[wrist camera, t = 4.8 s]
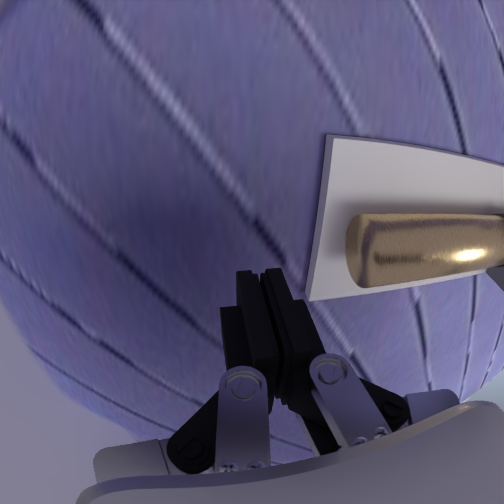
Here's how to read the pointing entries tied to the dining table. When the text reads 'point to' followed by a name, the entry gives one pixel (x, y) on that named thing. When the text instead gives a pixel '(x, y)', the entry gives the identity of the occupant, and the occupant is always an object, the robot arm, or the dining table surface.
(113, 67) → the dining table surface
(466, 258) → the tube
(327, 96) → the dining table surface
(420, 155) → the collar plate
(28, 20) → the dining table surface
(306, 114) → the dining table surface
